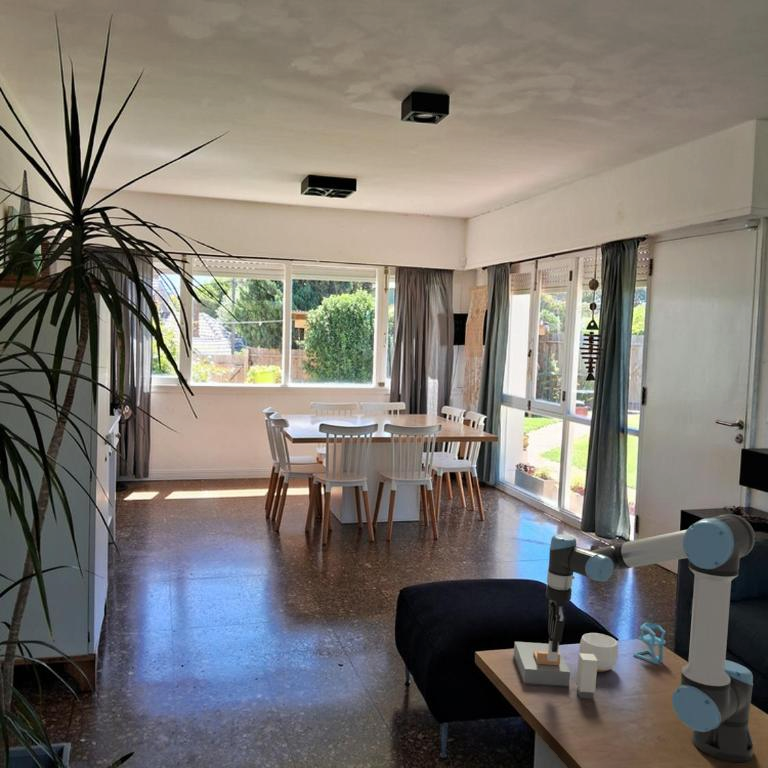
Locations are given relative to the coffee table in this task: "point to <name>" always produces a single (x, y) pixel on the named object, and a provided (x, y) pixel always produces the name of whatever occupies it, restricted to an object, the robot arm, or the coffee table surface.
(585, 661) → the white rectangular block
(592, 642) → the cup
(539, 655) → the block
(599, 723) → the coffee table surface
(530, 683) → the socket plate
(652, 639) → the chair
